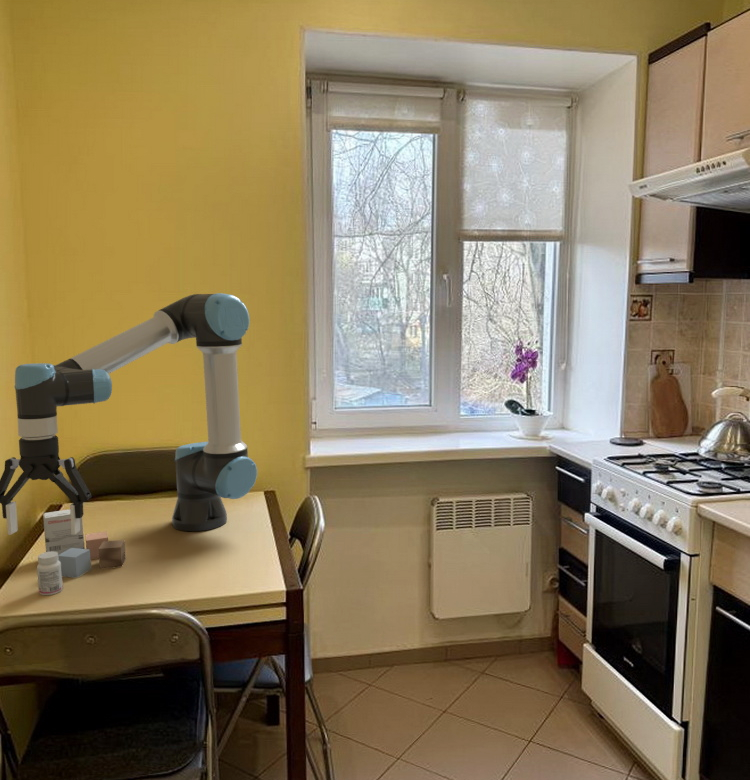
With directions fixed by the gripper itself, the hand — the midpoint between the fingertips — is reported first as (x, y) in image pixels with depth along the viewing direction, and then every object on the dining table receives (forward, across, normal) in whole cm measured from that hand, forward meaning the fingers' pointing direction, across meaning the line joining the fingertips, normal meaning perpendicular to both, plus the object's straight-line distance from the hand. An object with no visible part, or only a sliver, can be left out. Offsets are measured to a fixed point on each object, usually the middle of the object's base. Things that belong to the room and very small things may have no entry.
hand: (44, 532), depth 145 cm
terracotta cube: (+13, -2, -22) cm, 25 cm away
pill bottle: (+14, 0, 0) cm, 14 cm away
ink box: (+14, +5, -20) cm, 24 cm away
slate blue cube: (+14, -1, -10) cm, 17 cm away
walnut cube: (+13, -8, -16) cm, 22 cm away
